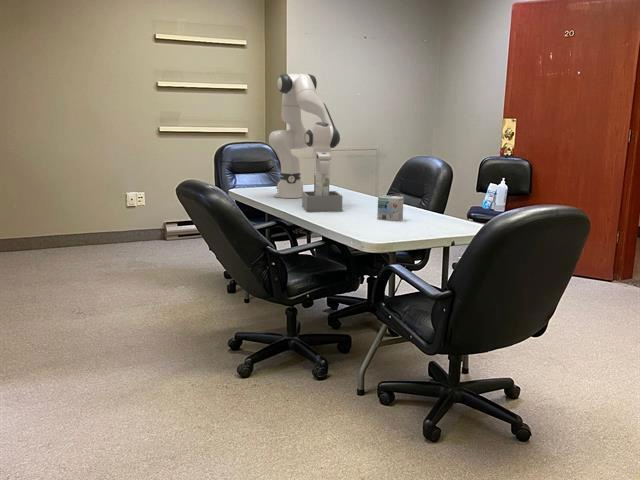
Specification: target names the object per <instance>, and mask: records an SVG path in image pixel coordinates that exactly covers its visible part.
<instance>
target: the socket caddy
mask: <svg viewBox="0 0 640 480" xmlns="http://www.w3.org/2000/svg"><path fill="white" fill-rule="evenodd" d="M301 198H302V199H301V202H302V203H301V204H302V205H301V207H302V208H303V210H304V211H305V212H306V213H321V212H323V213H325V212H331V213H332V212H336V213H337V212H343V195H342V194H341V193H339V192H337V190H329V196H314V190H313V191H312V190H311V191H303V192H302V197H301Z"/></svg>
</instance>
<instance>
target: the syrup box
mask: <svg viewBox="0 0 640 480" xmlns="http://www.w3.org/2000/svg"><path fill="white" fill-rule="evenodd" d="M330 173H331V169H330V168H329V174H328V175H326V179H325V183H321V179H322V176H321V174H320V173H319V168H316V167H315V168H314V175H313V176H314V177H313V178H314V180H313V181H314V182H313V184H314V185H313V191H314V196H329V191H330V179H331V178H330V177H331V176H330Z"/></svg>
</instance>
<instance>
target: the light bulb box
mask: <svg viewBox="0 0 640 480" xmlns="http://www.w3.org/2000/svg"><path fill="white" fill-rule="evenodd" d="M404 201H405V199H404V196H397V195H395V196H394V195H384V194H383V195H380V196H378V197H377V215H376V217H377V220H382V221H391V222H399V221H402V220H403V219H404Z"/></svg>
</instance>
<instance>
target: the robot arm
mask: <svg viewBox="0 0 640 480" xmlns="http://www.w3.org/2000/svg"><path fill="white" fill-rule="evenodd" d="M317 85H318V83H317V78H316V76H315V75H312V74H309V73H308V74H306V73H282V74H280V75H279V76H278V78H277V89H278V91H279V92H280V94H281V93H282V96H281V97H282V98H281V113H280V114H281V115H280V116H281V117H280V118H281V119H282V121H283V122H284V123H285V124H287V125H289V129H279V130H274V131H271V132H270V134H269V136H268V144H269V145H270V147H271V148H272V149H273V150H274V151H275V152H276V154H277V155H278V157H279V161H280V174H279V177H280V180H279V181H278V182H277V183H278V184H276V189H277V190H276V193H275V194H274V198H280V199H281V198H282V199H299V198H302V192H304V182H303V181H302V180H301V177H302V176H301V175H302V174H301V170H300V169H301V168H300V166H301V161H300V159H299V158H298V157H297V156H296V155H294V154H293V153H292V150H301V149H306V148H313V154H312V155H313V159H315V168H319V173H320V174H321V176H322V179H321V183H325V179H326V175H328V174H329V169H330V164H331V163H330V162H331V161H330V160H332V155H331V154H332V153H331V152H332V151H331V150H332V149H335V148H336V147H337V146H338V145H339V143H340V141H341V135H340V133H339V130H338V129H337V128H336V125H335V123H334V121H333V118H332V116H331V114H330V111H329V109H328V108H327V105H326V104H325V103H324V102H323V101H322V100H321V99H320V98H319V97H318V94H317V90H316V89H317V88H318V87H317ZM302 111H304V112H307V113H309V114H313V115H315V116H317V117H318V118H320V120H321V121H322V122H320V121H319V122H315V123H314V125H313V127H312V128H310V129H306V128H305V126H304V125H303V121H302Z"/></svg>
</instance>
